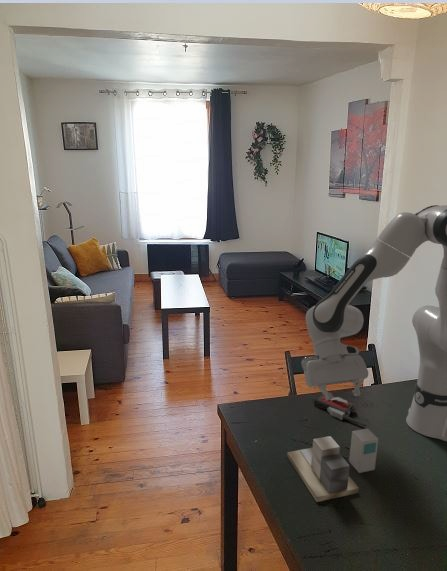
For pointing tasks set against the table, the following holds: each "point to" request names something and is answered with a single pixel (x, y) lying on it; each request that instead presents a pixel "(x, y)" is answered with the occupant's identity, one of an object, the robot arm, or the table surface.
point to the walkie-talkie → (337, 408)
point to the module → (363, 450)
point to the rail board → (315, 481)
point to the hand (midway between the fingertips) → (343, 397)
